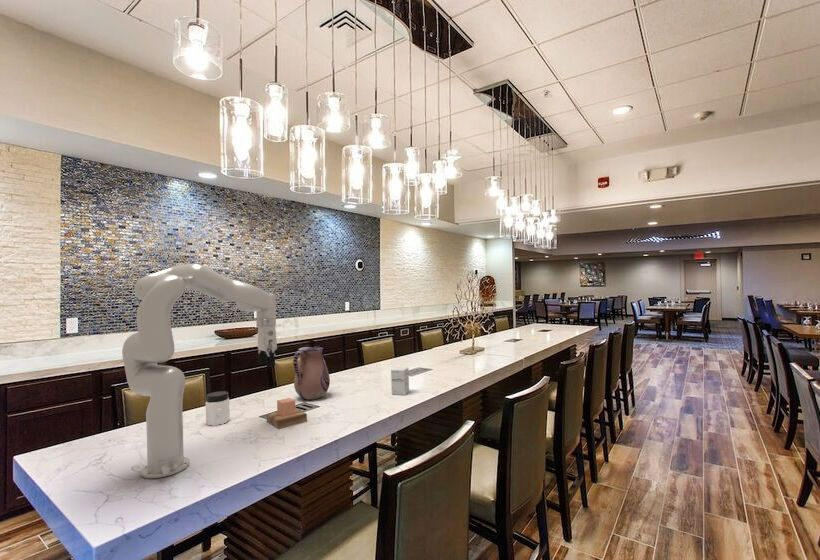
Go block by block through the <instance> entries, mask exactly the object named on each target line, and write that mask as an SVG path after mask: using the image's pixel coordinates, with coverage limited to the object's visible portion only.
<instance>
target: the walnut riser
mask: <svg viewBox="0 0 820 560" xmlns="http://www.w3.org/2000/svg"><path fill="white" fill-rule="evenodd" d="M307 421H308V415H307V413H306V412H304V411H302V410H300V409H298V408H296V414H292V415H288V416H284V417H282V416H280V415H278V414H277V411H276V412H272V413H268V414H266V422H267V423H268V422H269V424H270V425H271V426H273V427H275V428H276V429H283V428H287V427H290V426H294V425H297V424H302V423H305V422H307Z"/></svg>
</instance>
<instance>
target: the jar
mask: <svg viewBox="0 0 820 560" xmlns="http://www.w3.org/2000/svg"><path fill="white" fill-rule="evenodd" d="M230 417H231V415H230V398H229V392H228V391H224V390H223V391H222V390H220V391H214V392H210V393H207V394H206V401H205V425H206V426H210V425H212V426H211V427H215V426H214V425H216V426H220V425H219V424H221V425H225V424H227V423H228V422H229V421H230V419H231V418H230ZM227 421H228V422H227ZM226 422H227V423H226ZM224 423H225V424H224Z"/></svg>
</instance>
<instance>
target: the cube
mask: <svg viewBox="0 0 820 560" xmlns="http://www.w3.org/2000/svg"><path fill="white" fill-rule="evenodd" d="M296 405H297V404H296V399H294V398H291V397H288V398H282V399H279V400H276V406H277V411H276V412H277V414H278V415H280V416H282V417H284V416H288V415H292V414H296V409H297V408H296V407H297V406H296Z"/></svg>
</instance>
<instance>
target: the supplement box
mask: <svg viewBox="0 0 820 560" xmlns="http://www.w3.org/2000/svg"><path fill="white" fill-rule="evenodd" d="M390 379H391V380H390V381H391V395H392V396H394V395H395V396H397V395H398V396H406V395H407V394H409V392H410V382H409V381H410V380H409V379H410V378H409V367H404V366H403V367H401V366H400V367H398V366H395V367H393V368H392V369H391V370H390Z"/></svg>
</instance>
